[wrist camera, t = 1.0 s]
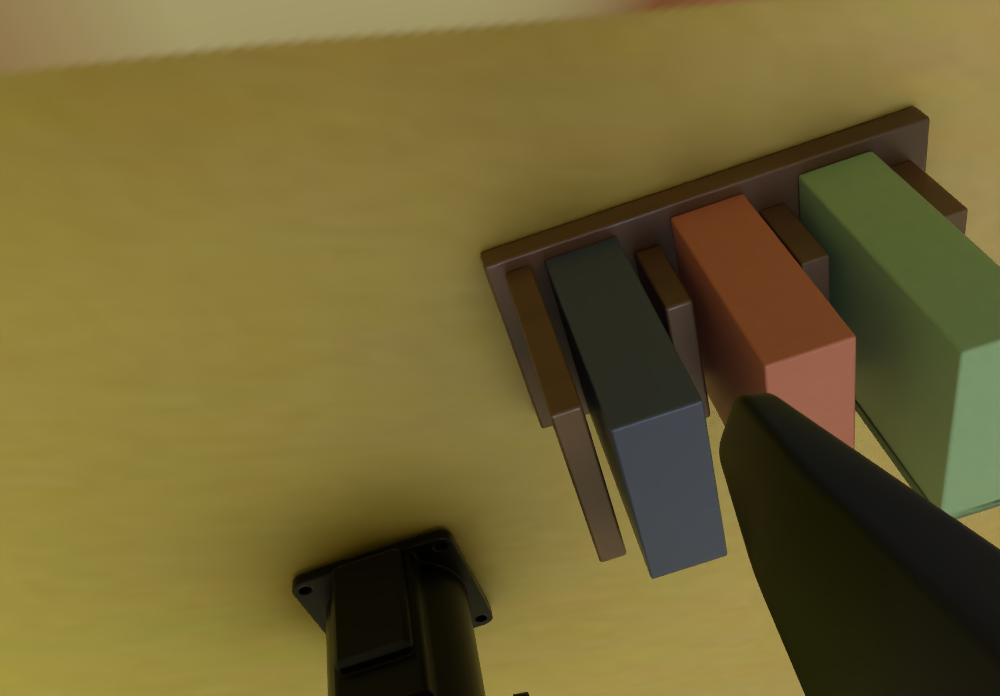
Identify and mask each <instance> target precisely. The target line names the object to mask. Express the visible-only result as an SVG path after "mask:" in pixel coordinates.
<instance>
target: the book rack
mask: <svg viewBox="0 0 1000 696" xmlns="http://www.w3.org/2000/svg"><path fill="white" fill-rule="evenodd" d="M928 131H929V117H928V116H927V115H925V114H924V113H923V112H921V111H920V110H919V109H917V108H916V107H912V108H909V109H906V110H903V111H900V112H897V113H894V114H891V115H888V116H885V117H882V118H879V119H877V120H874V121H871V122H868V123H865V124H862V125H859V126H856V127H853V128H850V129H847V130H844V131H841V132H838V133H835V134H832V135H829V136H826V137H823V138H820V139H817V140H814V141H811V142H808V143H805V144H803V145H800V146H797V147H794V148H791V149H788V150H785V151H782V152H779V153H776V154H773V155H770V156H767V157H764V158H761V159H758V160H755V161H752V162H749V163H746V164H743V165H740V166H737V167H734V168H732V169H729V170H726V171H723V172H720V173H717V174H714V175H711V176H708V177H705V178H702V179H699V180H696V181H693V182H690V183H687V184H684V185H681V186H678V187H675V188H672V189H669V190H666V191H663V192H660V193H658V194H655V195H652V196H649V197H646V198H643V199H640V200H637V201H634V202H631V203H628V204H625V205H622V206H619V207H616V208H613V209H610V210H607V211H604V212H601V213H598V214H595V215H592V216H589V217H586V218H584V219H581V220H578V221H575V222H572V223H569V224H566V225H563V226H560V227H557V228H554V229H551V230H548V231H545V232H542V233H539V234H536V235H533V236H530V237H527V238H524V239H521V240H518V241H515V242H512V243H510V244H507V245H504V246H501V247H498V248H495V249H492V250H489V251H486V252H483V253H481V259H482V263H483V266H484V269H485V272H486V275H487V278H488V281H489V283H490V286H491V289H492V292H493V294H494V297H495V300H496V303H497V306H498V308H499V311H500V314H501V317H502V320H503V322H504V325H505V328H506V331H507V333H508V336H509V339H510V342H511V345H512V347H513V350H514V353H515V356H516V358H517V361H518V364H519V367H520V370H521V372H522V375H523V378H524V381H525V384H526V386H527V389H528V392H529V395H530V397H531V400H532V403H533V406H534V409H535V411H536V414H537V417H538V420H539V423H540V425H541V427H542V428H546V427H549V426H552V425H553V427H554V429H555V432H556V435H557V438H558V441H559V444H560V447H561V450H562V453H563V456H564V459H565V461H566V464H567V467H568V470H569V473H570V476H571V479H572V482H573V485H574V488H575V490H576V493H577V496H578V499H579V502H580V505H581V508H582V511H583V514H584V517H585V520H586V522H587V525H588V528H589V531H590V534H591V537H592V540H593V543H594V546H595V549H596V551H597V554H598V557H599V560H600V561H601V562H604V561H607V560H610V559H614V558H617V557H620V556H623V555H625V554H626V549H625V546H624V542H623V539H622V536H621V533H620V529H619V526H618V523H617V519H616V516H615V513H614V509H613V506H612V503H611V500H610V496H609V493H608V490H607V486H606V483H605V480H604V476H603V473H602V470H601V467H600V463H599V460H598V457H597V453H596V450H595V447H594V443H593V440H592V437H591V433H590V430H589V427H588V424H587V420H586V417H585V415H586V414H589V410H588V407H587V404H586V401H585V397H584V394H583V391H582V387H581V384H580V380H579V377H578V374H577V370H576V367H575V364H574V360H573V357H572V354H571V350H570V347H569V343H568V340H567V337H566V333H565V330H564V327H563V323H562V320H561V316H560V313H559V310H558V306H557V303H556V300H555V296H554V293H553V290H552V286H551V283H550V279H549V276H548V273H547V269H546V266H545V260H547V259H550V258H553V257H556V256H559V255H562V254H565V253H568V252H571V251H574V250H577V249H580V248H583V247H586V246H589V245H592V244H595V243H598V242H601V241H604V240H607V239H609V238H612V237H617V239H618V241H619V242H620V244H621V246H622V248H623V250H624V252H625V254H626V256H627V258H628V260H629V261H630V263H631V265H632V267H633V269H634V271H635V273H636V275H637V277H638V279H639V281H640V282H641V284H642V286H643V288H644V290H645V292H646V294H647V296H648V298H649V300H650V301H651V303H652V305H653V307H654V309H655V311H656V313H657V315H658V317H659V319H660V320H661V322H662V324H663V326H664V328H665V330H666V332H667V334H668V336H669V338H670V339H671V341H672V343H673V345H674V347H675V349H676V351H677V353H678V355H679V357H680V358H681V360H682V362H683V364H684V366H685V368H686V370H687V372H688V374H689V376H690V378H691V379H692V381H693V383H694V385H695V387H696V389H697V391H698V393H699V395H700V397H701V398H702V400H703V406H704V412H705V418H707V417H709V416H710V409H709V403H708V396H707V390H706V383H705V377H704V370H703V364H702V357H701V351H700V345H699V338H698V332H697V325H696V319H695V312H694V306H693V300H692V299H691V297H690V295H689V294H688V292H687V290H686V288H685V287H684V285H683V283H682V282H681V280H680V274H679V268H678V262H677V256H676V249H675V243H674V237H673V231H672V225H671V218H672V217H675V216H678V215H681V214H684V213H687V212H690V211H693V210H696V209H699V208H702V207H705V206H708V205H711V204H714V203H717V202H720V201H723V200H726V199H729V198H732V197H735V196H738V195H740V194H743V195H744V196H745V197H746V198H747V200H748V201H749V202H750V203H751V205H752V206H753V207H754V208H755V210H756V211H757V212H758V213H759V215H760V216H761V217H762V219H763V220H764V221H765V222H766V224H767V225H768V226H769V227H770V229H771V230H772V231H773V232H774V234H775V235H776V236H777V237H778V239H779V240H780V241H781V243H782V244H783V245H784V246H785V248H786V249H787V250H788V251H789V253H790V254H791V255H792V256H793V258H794V259H795V260H796V261H797V263H798V264H799V265H800V267H801V268H802V269H803V270H804V272H805V273H806V274H807V275H808V277H809V278H810V279H811V280H812V282H813V283H814V284H815V285H816V287H817V288H818V289H819V291H820V292H821V293H822V294H823V296H824V297H825V298H826V299H827V301H828V302H829V303H830V277H829V254H828V253H827V252H826V251H825V250H824V248H823V247H822V246H821V245H820V244H819V243H818V241H817V240H816V239H815V238H814V237H813V235H812V234H811V233H810V232H809V231H808V230H807V228H806V227H805V226H804V225H803V224H802V223H801V221H800V198H799V175H801V174H804V173H807V172H809V171H812V170H815V169H818V168H821V167H824V166H827V165H830V164H833V163H836V162H839V161H842V160H845V159H848V158H851V157H854V156H857V155H860V154H863V153H866V152H869V151H872V152H873V153H875V154H876V155H877V156H878V157H879V158H880V159H881V160H882V161H883V162H884V163H886V164H887V165H888V166H889V167H890V168H891V169H892V170H893V171H894V172H896V173H897V174H898V175H899V176H900V177H901V178H902V179H903V180H904V181H906V182H907V183H908V184H909V185H910V186H911V187H912V188H913V189H914V190H915V191H917V192H918V193H919V194H920V195H921V196H922V197H923V198H924V199H925V200H927V201H928V202H929V203H930V204H931V205H932V206H933V207H934V208H935V209H937V210H938V211H939V212H940V213H941V214H942V215H943V216H944V217H945V218H946V219H948V220H949V221H950V222H951V223H952V224H953V225H954V226H955V227H956V228H958V229H959V230H960V231H961V232H962V233H963V234H964V235H965V228H966V220H967V211H968V210H967V208H966V207H965V206H964V205H962V204H961V203H960V202H959V201H958V200H957V199H955V198H954V197H953V196H952V195H951V194H950V193H948V192H947V191H946V190H945V189H944V188H943V187H942V186H940V185H939V184H938V183H937V182H936V181H935V180H933V179H932V178H931V177H930V176H929V175H928V174H926V173H925V170H926V157H927V144H928Z"/></svg>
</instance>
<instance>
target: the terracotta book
mask: <svg viewBox="0 0 1000 696" xmlns="http://www.w3.org/2000/svg"><path fill="white" fill-rule="evenodd" d="M671 225H672V231H673V237H674V243H675V249H676V256H677V262H678V268H679V274H680V280H681V282H682V283H683V285H684V287H685V288H686V290H687V292H688V294H689V295H690V297H691V299H692V300H693V306H694V312H695V319H696V325H697V332H698V338H699V345H700V351H701V357H702V364H703V370H704V377H705V383H706V390H707V393H708V395H709V397H710V399H711V401H712V403H713V405H714V407H715V408H716V410H717V412H718V414H719V416H720V418H721V420H722V421H723V423H724V425H726V422H727V419H728V416H729V413H730V410H731V407H732V404H733V402H734V400H735V399H736V398H737V397H738V396H740V395H743V394H755V393H771V394H773V395H775V396H777V397H778V398H780V399H781V400H783V401H784V402H786V403H787V404H789V405H790V406H792V407H793V408H795V409H796V410H797V411H799V412H800V413H802V414H803V415H805V416H806V417H808V418H809V419H811V420H812V421H813V422H815V423H816V424H818V425H819V426H821V427H822V428H824V429H825V430H827V431H828V432H830V433H831V434H832V435H834V436H835V437H837V438H838V439H840V440H841V441H843V442H844V443H846V444H847V445H848V446H850V447H851V448H853V449H854V443H855V374H856V336H855V335H854V333H853V332H852V331H851V330H850V328H849V327H848V326H847V325H846V323H845V322H844V321H843V320H842V318H841V317H840V316H839V315H838V313H837V312H836V311H835V309H834V308H833V307H832V306H831V304H830V303H829V302H828V301H827V299H826V298H825V297H824V296H823V294H822V293H821V292H820V291H819V289H818V288H817V287H816V285H815V284H814V283H813V282H812V280H811V279H810V278H809V277H808V275H807V274H806V273H805V272H804V270H803V269H802V268H801V267H800V265H799V264H798V263H797V261H796V260H795V259H794V258H793V256H792V255H791V254H790V253H789V251H788V250H787V249H786V248H785V246H784V245H783V244H782V243H781V241H780V240H779V239H778V237H777V236H776V235H775V234H774V232H773V231H772V230H771V229H770V227H769V226H768V225H767V224H766V222H765V221H764V220H763V219H762V217H761V216H760V215H759V213H758V212H757V211H756V210H755V208H754V207H753V206H752V205H751V203H750V202H749V201H748V200H747V198H746V197H745V196H744V195H743V194H740V195H738V196H735V197H732V198H729V199H726V200H723V201H720V202H717V203H714V204H711V205H708V206H705V207H702V208H699V209H696V210H693V211H690V212H687V213H684V214H681V215H678V216H675V217H672V218H671Z"/></svg>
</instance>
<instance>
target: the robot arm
mask: <svg viewBox="0 0 1000 696" xmlns="http://www.w3.org/2000/svg"><path fill="white" fill-rule="evenodd" d="M719 455H720V461H721V465H722V469H723V472H724V475H725V479H726V482H727V485H728V489H729V492H730V496H731V499H732V502H733V506H734V509H735V512H736V516H737V519H738V523H739V526H740V529H741V533H742V536H743V539H744V543H745V546H746V550H747V553H748V556H749V559H750V562H751V565H752V568H753V571H754V574H755V577H756V579H757V582H758V584H759V587H760V589H761V592H762V594H763V597H764V599H765V601H766V604H767V606H768V608H769V611H770V613H771V616H772V618H773V620H774V623H775V625H776V627H777V630H778V632H779V634H780V637H781V639H782V642H783V644H784V646H785V649H786V651H787V653H788V656H789V658H790V660H791V663H792V665H793V668H794V670H795V672H796V675H797V677H798V679H799V682H800V684H801V686H802V689H803V691H804V693H805V696H1000V549H999V548H997V547H996V546H994V545H993V544H991V543H990V542H988V541H987V540H985V539H984V538H983V537H981V536H980V535H978V534H977V533H975V532H974V531H972V530H971V529H969V528H968V527H967V526H965V525H964V524H962V523H961V522H959V521H958V520H956V519H955V518H953V517H952V516H950V515H949V514H948V513H946V512H945V511H943V510H942V509H940V508H939V507H937V506H936V505H934V504H933V503H932V502H930V501H929V500H927V499H926V498H924V497H923V496H921V495H920V494H918V493H917V492H916V491H914V490H913V489H911V488H910V487H908V486H907V485H905V484H904V483H902V482H901V481H899V480H898V479H897V478H895V477H894V476H892V475H891V474H889V473H888V472H886V471H885V470H883V469H882V468H881V467H879V466H878V465H876V464H875V463H873V462H872V461H870V460H869V459H867V458H866V457H864V456H863V455H862V454H860V453H859V452H857V451H856V450H854V449H853V448H851V447H850V446H848V445H847V444H846V443H844V442H843V441H841V440H840V439H838V438H837V437H835V436H834V435H832V434H831V433H830V432H828V431H827V430H825V429H824V428H822V427H821V426H819V425H818V424H816V423H815V422H813V421H812V420H811V419H809V418H808V417H806V416H805V415H803V414H802V413H800V412H799V411H797V410H796V409H795V408H793V407H792V406H790V405H789V404H787V403H786V402H784V401H783V400H781V399H780V398H778V397H777V396H775V395H773V394H771V393H755V394H743V395H740V396H738V397H737V398H736V399H735V400H734V402H733V404H732V407H731V410H730V413H729V416H728V419H727V422H726V425H725V429H724V432H723V435H722V438H721V441H720V447H719ZM292 592H293V595H294V596H295V597H296V598H297V599H298V601H299V602H300V603H301V604H302V606H303V607H304V608H305V609H306V610H307V612H308V613H309V614H310V615H311V617H312V618H313V619H314V620H315V622H316V623H317V624H318V625H319V626H320V628H321V629H322V630H323V631H324V633H325V634H326V641H327V678H328V696H485V691H484V685H483V680H482V674H481V668H480V662H479V657H478V651H477V645H476V640H475V634H474V628H475V627H478V626H481V625H484V624H487V623H489V622H490V621H491V620H492V618H493V617H492V611H491V607H490V605H489V603H488V601H487V599H486V597H485V595H484V594H483V592H482V590H481V588H480V586H479V584H478V582H477V581H476V579H475V577H474V575H473V573H472V571H471V569H470V567H469V566H468V564H467V562H466V560H465V558H464V556H463V554H462V552H461V551H460V549H459V547H458V545H457V543H456V541H455V539H454V537H453V536H452V534H451V533H450V532H448V531H446V530H438V531H434V532H431V533H428V534H425V535H422V536H419V537H416V538H413V539H409V540H406V541H403V542H400V543H397V544H394V545H391V546H388V547H385V548H382V549H379V550H376V551H372V552H369V553H366V554H363V555H360V556H357V557H354V558H351V559H348V560H345V561H342V562H339V563H335V564H332V565H329V566H326V567H323V568H320V569H317V570H314V571H311V572H308V573H305V574H302V575H299V576H297V577H295V578H294V579H293V582H292ZM513 696H529V694H528V692H524V693H518V694H513Z"/></svg>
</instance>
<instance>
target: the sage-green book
mask: <svg viewBox="0 0 1000 696" xmlns="http://www.w3.org/2000/svg"><path fill="white" fill-rule="evenodd" d="M799 198H800V221H801V223H802V224H803V225H804V226H805V227H806V228H807V230H808V231H809V232H810V233H811V234H812V235H813V237H814V238H815V239H816V240H817V241H818V243H819V244H820V245H821V246H822V247H823V248H824V250H825V251H826V252H827V253H828V254H829V277H830V304H831V306H832V307H833V308H834V309H835V311H836V312H837V313H838V315H839V316H840V317H841V318H842V320H843V321H844V322H845V323H846V325H847V326H848V327H849V328H850V330H851V331H852V332H853V333H854V335H855V336H856V374H855V410H856V411H857V413H858V414H859V416H860V417H861V418H862V420H863V421H864V423H865V424H866V425H867V427H868V428H869V430H870V431H871V432H872V434H873V435H874V436H875V438H876V439H877V441H878V442H879V443H880V445H881V446H882V448H883V449H884V450H885V452H886V453H887V455H888V456H889V457H890V459H891V460H892V462H893V463H894V464H895V466H896V467H897V469H898V470H899V471H900V473H901V474H902V476H903V477H904V478H905V480H906V481H907V483H908V484H909V485H910V487H911V488H912V489H913V490H914V491H916V492H917V493H918V494H920V495H921V496H923V497H924V498H926V499H927V500H929V501H930V502H932V503H933V504H934V505H936V506H937V507H939V508H940V509H942V510H943V511H945V512H946V513H948V514H949V515H950V516H952V517H953V518H955V519H959V518H962V517H965V516H969V515H972V514H975V513H978V512H981V511H984V510H988V509H991V508H994V507H997V506H1000V266H998V265H997V264H996V263H995V262H994V261H993V260H992V259H991V258H990V257H989V256H987V255H986V254H985V253H984V252H983V251H982V250H981V249H980V248H979V247H977V246H976V245H975V244H974V243H973V242H972V241H971V240H970V239H969V238H967V237H966V236H965V235H964V234H963V233H962V232H961V231H960V230H959V229H958V228H956V227H955V226H954V225H953V224H952V223H951V222H950V221H949V220H948V219H946V218H945V217H944V216H943V215H942V214H941V213H940V212H939V211H938V210H937V209H935V208H934V207H933V206H932V205H931V204H930V203H929V202H928V201H927V200H925V199H924V198H923V197H922V196H921V195H920V194H919V193H918V192H917V191H915V190H914V189H913V188H912V187H911V186H910V185H909V184H908V183H907V182H906V181H904V180H903V179H902V178H901V177H900V176H899V175H898V174H897V173H896V172H894V171H893V170H892V169H891V168H890V167H889V166H888V165H887V164H886V163H884V162H883V161H882V160H881V159H880V158H879V157H878V156H877V155H876V154H875V153H873V152H872V151H869V152H866V153H863V154H860V155H857V156H854V157H851V158H848V159H845V160H842V161H839V162H836V163H833V164H830V165H827V166H824V167H821V168H818V169H815V170H812V171H809V172H807V173H804V174H801V175H799Z"/></svg>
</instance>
